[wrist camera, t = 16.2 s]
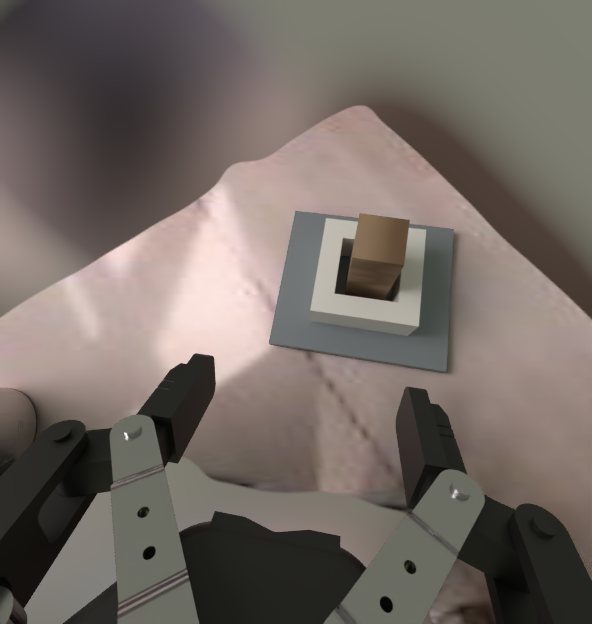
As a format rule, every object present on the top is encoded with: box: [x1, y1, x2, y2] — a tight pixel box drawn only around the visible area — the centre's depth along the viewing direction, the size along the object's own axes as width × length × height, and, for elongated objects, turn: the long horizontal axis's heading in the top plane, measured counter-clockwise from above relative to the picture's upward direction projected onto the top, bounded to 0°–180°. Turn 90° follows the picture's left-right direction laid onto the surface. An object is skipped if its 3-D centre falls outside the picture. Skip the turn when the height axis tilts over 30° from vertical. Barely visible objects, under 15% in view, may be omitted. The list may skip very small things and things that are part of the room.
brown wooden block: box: [344, 213, 410, 300], centre depth 31 cm, size 4×4×10 cm
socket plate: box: [269, 211, 454, 373], centre depth 34 cm, size 18×16×5 cm
